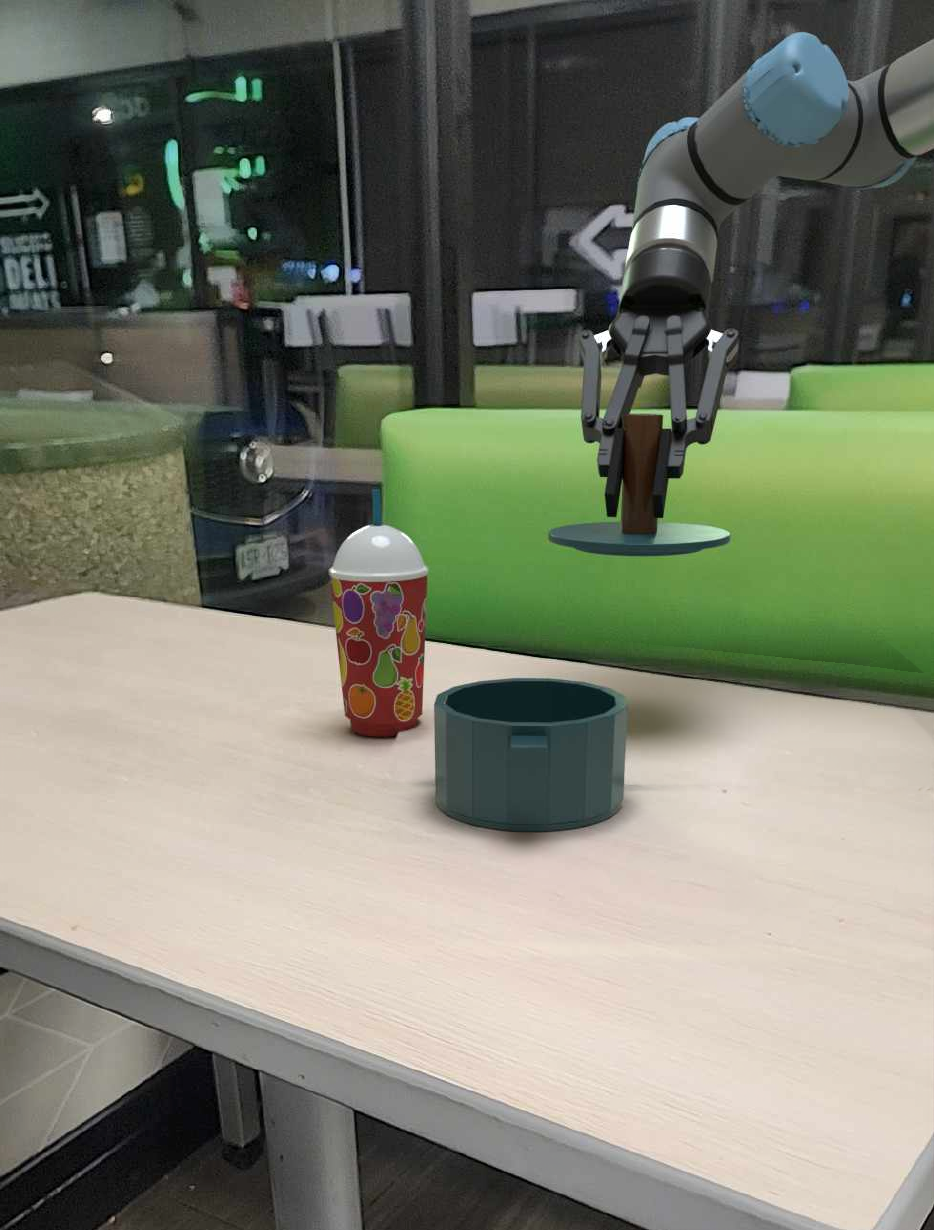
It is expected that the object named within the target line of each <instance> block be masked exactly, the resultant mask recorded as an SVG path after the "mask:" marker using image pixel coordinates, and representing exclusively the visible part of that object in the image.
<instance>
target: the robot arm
mask: <svg viewBox="0 0 934 1230" xmlns="http://www.w3.org/2000/svg"><path fill="white" fill-rule="evenodd" d="M932 150H934V38H933V39H931V40H929V41H926V43H924V44H922V45H920V46H918V47H916V48H914V49H913V50H911V51H909V52H907V53H905V54H904V55H902V56H900V57H899V58H896V60H894V61H892V62H890V63H889V64H886V65H884V66H882V67H881V68H879V69H877V70H875V71H873V72H871V73H869V74H868V75H866V76H864V77H862V78H860V79H857V80H854V81H853V80H848V79H847V77H846V73H845V71H844V68H843V67H842V65H841V63H840V61H839V59H838V58H837V56H836V55H835V53H834V52H833V51H832V49H831V48H830V47H829V46H828V45H827V44H823V43H822V42H821V41H820V39H819V38H818V37H817V36H816V35H814V34H811V33H809V32H805V31H799V32H794V33H792V34H790V35H788V36H786V37H785V38H783V40H782V41H780V42H779V43H778V44H777V45H775V47H773V48H772V49H771V50H770V51H768V52H767V53H764V54H763V55H762V56H761V57H760V58H758V59H757V60H755V62H754V63H753V64H752V65H751V66H750V68H749V69H747V70H746V72H745V73H744V74H742V76H741V77H740V78H739V79H737V81H736V82H734V84H732V86H730V88H728V90H727V91H725V93H723V94H722V95H721V96H720V97H719V98H718V99H717V100H716V101H715V102H714V103H713V104H712V105H711V106H710V107H709V108H708V109H707V110H706V111H705V112H704V113H703V114H702V115H700V117H692V116H689V117H683V118H681V119H679V120H675V121H672V122H668V123H665V124H663V126H662V127H660V128H659V129H658V130H657V131H656V132H655V133H654V134H653V136H652V137H651V139H650V140H649V142H648V145H647V147H646V150H645V153H644V158H643V161H642V165H641V168H640V169H639V173H638V174H639V175H638V177H637V184H636V186H637V189H636V196H635V197H636V198H635V204H634V209H633V210H634V211H633V218H632V224H631V231H630V237H629V243H628V248H627V254H626V258H625V259H626V261H625V265H624V273H623V278H622V284H621V290H620V297H619V301H618V309H617V314H616V316H615V318H614V319H613V320H612V321H611V323H610V324H609V327H608V330H606V331H602V332H600V333H598V334H594V332H593V331H592V330H590V329H584V330H582V331H580V332H579V333H578V342H579V350H580V358H581V362H582V365H583V375H582V376H583V377H582V393H581V395H582V396H581V407H580V408H581V410H580V420H581V429H582V438H583V441H584V442H585V443H587V444H593V443H595V442H596V443H599V445H598V452H597V458H596V463H597V472H598V475H599V478H606V483H605V488H604V503H605V510H606V511H605V512H606V517H607V518H617V516H618V509H619V504H620V503H619V502H620V497H621V492H622V479H623V455H624V430H625V414H631V411H632V409H633V405H634V402H635V400H636V398H637V397H636V396H637V395H638V391H639V389H641V388H642V385H643V382H644V379H645V376H651V375H660V376H661V375H662V376H668V389H669V404H670V405H669V407H670V423H671V425H670V426H671V428H663V429H662V431H661V438H660V445H659V452H658V459H657V466H656V473H655V480H654V487H653V494H652V498H653V514H654V518H658V519H664V515H665V507H666V502H667V493H668V486H669V480H670V479H679V480H680V479H681V477H682V476H683V475H684V469H685V462H686V454H687V450H688V448H689V446H690V445H692V444H696V443H697V444H699V445H701V446H703V445H707V444H708V443H710V442H711V439H712V435H713V431H714V427H715V423H716V419H717V415H718V411H719V406H720V401H721V397H722V394H723V390H724V385H725V381H726V376H727V374H728V372H729V371H730V369H731V368H732V367H733V365H734V364H735V363H736V361H737V360H738V358H739V331H738V329H735V328H727V329H725V331H724V332H723V333H722V332H719V331H716V330H714V329H712V323H711V320H710V319H709V311H710V309H709V308H710V303H711V295H712V283H713V281H714V273H715V265H716V256H717V249H718V243H719V233H720V227H721V224H722V222H723V221H724V220H725V219H726V218H727V217H728V216H729V215H731V214H732V213H733V212H734V211H735V210H736V209H738V208H739V207H740V206H741V205H742V204H744V203H746V202H747V201H748V200H749V199H750V198H751V197H752V196H755V194H756V193H758V192H759V190H761V189H762V188H763V187H765V186H766V185H767V184H768V183H769V182H770V181H772V180H773V179H775V178H776V177H783V178H789V179H797V180H804V181H813V182H819V183H826V184H831V185H832V184H833V185H838V186H843V187H845V188H848V189H853V190H866V189H870V188H871V189H873V188H874V189H877V188H884V187H887V186H890V185H892V184H893V183H896V182H897V181H899V180H900V179H901V178H902V177H903V176H904V175H905V174H906V173H907V172H908V171H909V170H910V168H911V167H912V166H913V165H914V163H915V162H916V160H917V158H918V156H921V155H923V154H925V153H927V152H929V151H932ZM706 348H707V355H708V364H707V368H706V372H705V377H704V381H703V384H702V388H701V393H700V395H699V396H700V397H699V400H698V405H697V410H696V413H695V417H692V418H689V419H688V413H687V399H686V383H685V382H686V381H685V368H687V366H688V365H689V364H691V362H692V361H694V360H695V359H696V357H698V356H699V355H700V354H701V353H702V352H704V350H705V349H706ZM610 349H612V350H613V351H614V352H615V353H616V355H617V356H618V357H619V358H620V360H621V361H622V366H621V369H620V371H619V373H618V376H617V379H616V382H615V385H614V388H613V391H612V394H611V397H610V398H609V402H608V405H607V407H606V410H605V413H604V415H603V418H602V417H600V413H601V412H600V408H601V395H602V393H601V392H602V367H601V366H602V365H604V364H605V360H606V359H608V352H609V350H610Z"/></svg>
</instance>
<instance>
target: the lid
mask: <svg viewBox="0 0 934 1230" xmlns="http://www.w3.org/2000/svg"><path fill="white" fill-rule="evenodd" d="M663 425H664V414H663V413H630V414H625V428H624V429H625V430H624V455H623V478H622V485H621V505H620V507H621V508H620V521H599V522H584V523H576V524H575V523H574V524H567V525H563V526H557V527H555V528H552V529H550V530H549V531H548V534H547V535H548V537H547V538H548V541H549V542H550V543H551V544H552V543H553V544H555V545H559V546H561V547H565V548H573V549H574V550H576V551H579V552H583V553H588V554H593V555H594V554H595V555H603V556H613V557H615V556H616V557H617V556H618V557H668V556H669V557H670V556H681V555H682V556H683V555H689V554H695V553H698V552H702V551H703V550H707V549H708V550H709V549H714V548H718V547H722V546H725V545H727V544H729V543H730V541H731V532H730V531H728V530H725V529H723V528H720V527H716V526H709V525H703V524H695V523H684V522H683V523H682V522H668V521H666V522H665V521H658V520H659V518H654V514H653V498H652V494H653V487H654V480H655V473H656V466H657V459H658V452H659V445H660V438H661V431H662V429H664V428H663Z"/></svg>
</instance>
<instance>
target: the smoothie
mask: <svg viewBox="0 0 934 1230" xmlns="http://www.w3.org/2000/svg"><path fill="white" fill-rule="evenodd" d="M371 492H372V518H373V519H372V520H373V521H372V522H373V524H368V525H365V526H363V527H360V528H358V529H357V530H355V531H353V532H352V533H350V534H349V535H348V536H347V537H346V539H345V540H344V541H343V542H342V544H341V545H340V547H339V548H338V551H336V552H337V553H336V554H335V557H334V561H333V564H332V566H330V568H329V569H328V576H329V579H330V591H331V599H332V608H333V609H332V610H333V618H334V628H335V638H336V644H337V645H336V646H337V654H338V655H337V657H338V666H339V675H340V682H341V692H342V702H343V712H344V717H346V718H347V719H348V720H349V721H350V727H351V730H352V731H353V732H354V733H356V734H359V735H363V736H366V737H374V738H391V737H398V735H399V733H400V731H403V730H404V731H405V730H408V729H411V728H414V727H415V726H416V725H417V724H418V718H420V717H421V716H422V715H423V703H424V677H425V676H424V675H425V656H426V655H425V654H426V629H427V628H426V627H427V605H428V604H427V603H428V600H427V599H428V575H429V571H430V567H429V566H428V565H426V564H425V561H424V558H423V556H422V554H421V551H420V550H419V548H418V546H417V545H416V544H415V542H414V541H413V540H412V538H410V536H409V535H408V534H406V533H404V532H403V531H401V530H400V529H398V528H395V527H393V526H392V525H391V526H390V525H389V524H382V509H381V506H382V505H381V489H372V490H371Z"/></svg>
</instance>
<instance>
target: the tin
mask: <svg viewBox="0 0 934 1230" xmlns="http://www.w3.org/2000/svg"><path fill="white" fill-rule="evenodd" d="M434 700H435V701H434V704H433V712H434V713H433V722H434V723H433V724H434V725H433V728H434V729H433V730H434V782H435V784H434V785H435V790H434V791H435V799H436V804H437V807H438V808H439V809H440V810H441V811H442V812H443V813H444V814H445V815H447V816H449V817H451V818H452V819H455V820H457V821H460V822H463V823H465V824H467V825H473V826H477V827H480V828H486V829H492V830H498V831H509V832H533V833H534V832H555V831H565V830H571V829H579V828H583V827H588V826H591V825H594V824H598V823H601V822H603V821H605V820H607V819H609V818H611V817H613V816H614V815H615V814H617V813H618V812H619V811H620V810H621V807H622V806H623V801H624V794H625V793H624V792H625V772H626V752H627V751H626V748H627V731H628V730H627V729H628V726H627V725H628V710H629V709H628V703H627V697H626V696H625V695H624V694H621V693H620V692H618V691H616V690H614V689H612V688H610V687H608V686H607V687H606V686H603V685H598V684H594V683H590V682H585V681H579V680H578V681H577V680H569V679H561V678H549V677H511V678H499V679H498V678H497V679H487V680H478V681H473V682H469V683H465V684H460V685H455V686H452V687H450V688H448V689H446V690H443V691H442V692H440V693H438V694H437V695H436V697H435V699H434Z"/></svg>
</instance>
